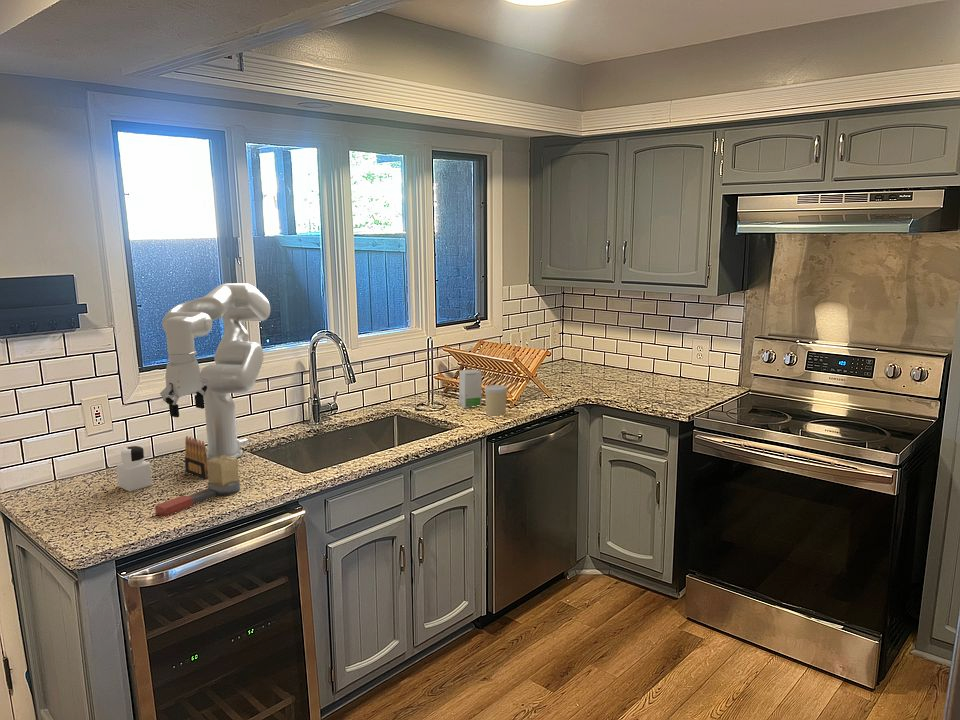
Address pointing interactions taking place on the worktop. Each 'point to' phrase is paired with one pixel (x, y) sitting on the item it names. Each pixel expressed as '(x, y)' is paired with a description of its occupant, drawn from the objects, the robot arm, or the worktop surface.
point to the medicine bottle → (133, 469)
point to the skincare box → (470, 388)
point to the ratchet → (195, 498)
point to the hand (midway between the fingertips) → (187, 412)
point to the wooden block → (222, 470)
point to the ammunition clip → (196, 458)
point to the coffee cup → (495, 399)
